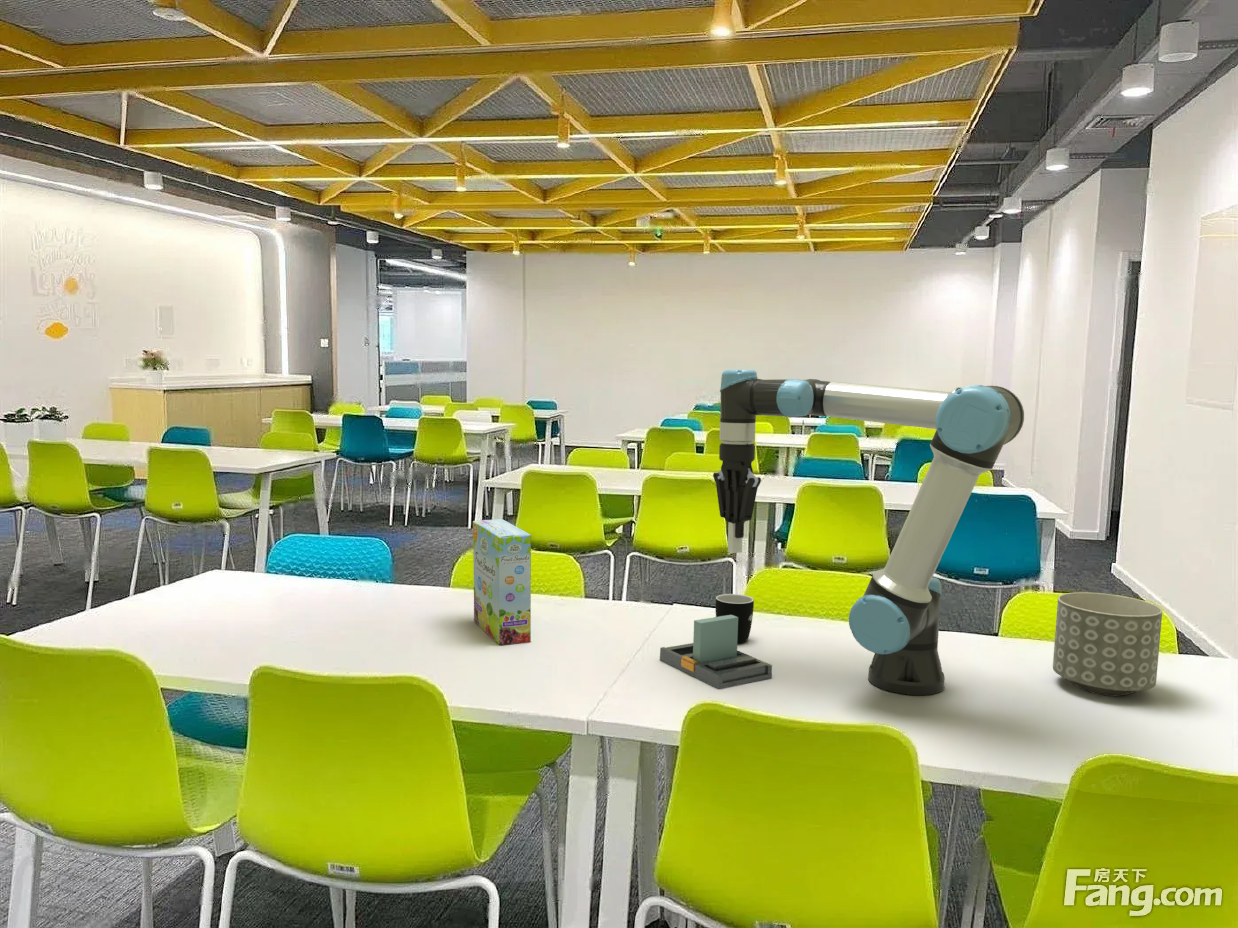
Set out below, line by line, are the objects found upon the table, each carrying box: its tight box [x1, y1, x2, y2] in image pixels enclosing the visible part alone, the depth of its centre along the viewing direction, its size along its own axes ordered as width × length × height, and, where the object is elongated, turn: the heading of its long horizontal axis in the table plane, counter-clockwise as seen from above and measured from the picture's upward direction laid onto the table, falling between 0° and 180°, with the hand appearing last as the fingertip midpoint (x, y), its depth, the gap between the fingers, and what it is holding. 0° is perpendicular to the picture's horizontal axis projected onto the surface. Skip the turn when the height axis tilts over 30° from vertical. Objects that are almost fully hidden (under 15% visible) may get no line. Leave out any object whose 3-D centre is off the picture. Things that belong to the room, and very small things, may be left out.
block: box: [692, 615, 738, 663], centre depth 199 cm, size 2×10×10 cm, turn 122°
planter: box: [1052, 591, 1163, 697], centre depth 192 cm, size 19×19×18 cm
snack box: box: [472, 518, 532, 646], centre depth 222 cm, size 22×9×26 cm, turn 25°
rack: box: [659, 642, 773, 690], centre depth 199 cm, size 21×14×4 cm
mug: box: [715, 593, 755, 645], centre depth 222 cm, size 12×9×10 cm
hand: (734, 552), depth 200 cm, fingers closed
